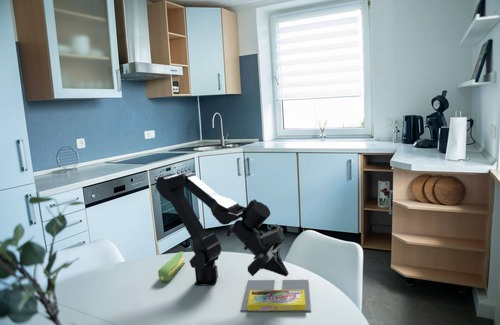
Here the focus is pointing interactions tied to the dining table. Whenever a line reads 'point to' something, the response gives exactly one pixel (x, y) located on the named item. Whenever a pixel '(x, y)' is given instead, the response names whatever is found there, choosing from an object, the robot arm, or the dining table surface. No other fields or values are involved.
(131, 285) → the dining table surface
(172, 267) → the edible corn
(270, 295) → the candy box
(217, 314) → the dining table surface
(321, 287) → the dining table surface
